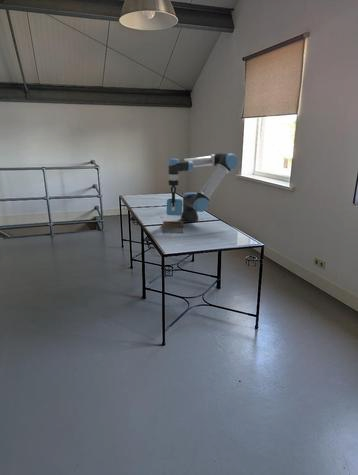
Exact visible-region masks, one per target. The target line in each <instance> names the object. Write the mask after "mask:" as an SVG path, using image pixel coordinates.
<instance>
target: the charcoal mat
mask: <svg viewBox="0 0 358 475" xmlns="http://www.w3.org/2000/svg"><path fill="white" fill-rule="evenodd" d="M161 233H162V234H184V227H183V228H162V229H161Z"/></svg>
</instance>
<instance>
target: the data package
mask: <svg viewBox="0 0 358 475" xmlns="http://www.w3.org/2000/svg"><path fill="white" fill-rule="evenodd" d="M171 202H172V198H168V199H167V200H166V215H167V216H180V217H181V215H182V212H183V199H181V198H175V211H172V203H171Z"/></svg>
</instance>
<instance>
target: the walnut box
mask: <svg viewBox="0 0 358 475" xmlns="http://www.w3.org/2000/svg"><path fill="white" fill-rule="evenodd" d="M161 227H162V228H183V229H184V221H179V220H178V221H172V220H170V221H168V220H166V221H165V220H162V226H161Z"/></svg>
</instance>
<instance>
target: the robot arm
mask: <svg viewBox="0 0 358 475" xmlns="http://www.w3.org/2000/svg"><path fill="white" fill-rule="evenodd" d="M238 164H239V159H238V157H237V155H235V154H234V153H231V152H230V153H228V152H227V153H226V152H218V153H213V154H209V155H206V156H198V157H190V158H182V159H178V158H169V159H168V165H167V166H168V175H167V177H168V185H169V186H170V193H171V199H172V202H171V203H172V211H175V199H176V193H177V192H176V191H177V187H176V186H179V178H180V177H179V176H180V174H179V173H180V172H190V171H191V172H192V171H193V170H194V168H199V167H205V166H207V167H208V166H210V167H216V169H214V171H213V173H212V174H211V176H210V177H209V179H208V180H207V181H206V183H205V185H203V187H202V189H201V190H200V191H197V192H185V193H183V194H182V201H183V204H182V215H180V220H181V222H187V223H188V222H189V223H190V222H191V223H193V222H197V221H199V215H198V212H199V213H203V212H205V211H207V209H208V208H209V204H210V203H209V202H210V201H211V200H210V199H211V196H212V194H213V193H214V191H215V190H216V188H217V187H218V186H219V184H220V183H221V181H222V180H223V178H224V177H225V176H226V174H229V173H230V172H231V170H234V169H236V168H237V166H238Z"/></svg>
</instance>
